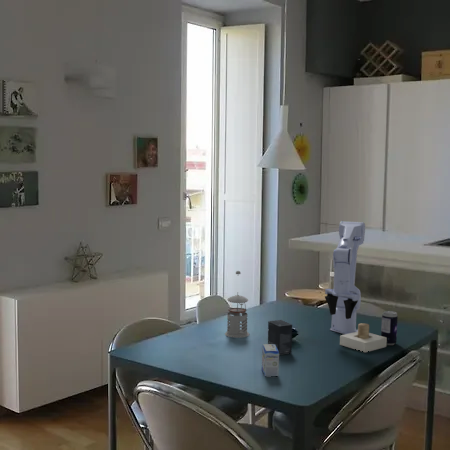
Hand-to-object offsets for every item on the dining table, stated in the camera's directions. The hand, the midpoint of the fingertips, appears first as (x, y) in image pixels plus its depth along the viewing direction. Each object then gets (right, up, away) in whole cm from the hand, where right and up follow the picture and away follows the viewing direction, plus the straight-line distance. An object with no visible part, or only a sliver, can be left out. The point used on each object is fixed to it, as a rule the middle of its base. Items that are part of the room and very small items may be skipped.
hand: (340, 316), depth 260 cm
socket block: (+8, -11, -1) cm, 13 cm away
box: (-23, -12, -10) cm, 28 cm away
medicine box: (-28, -14, -34) cm, 46 cm away
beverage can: (+18, -11, +2) cm, 21 cm away
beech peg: (+8, -11, -1) cm, 13 cm away
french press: (-38, -9, +13) cm, 41 cm away
